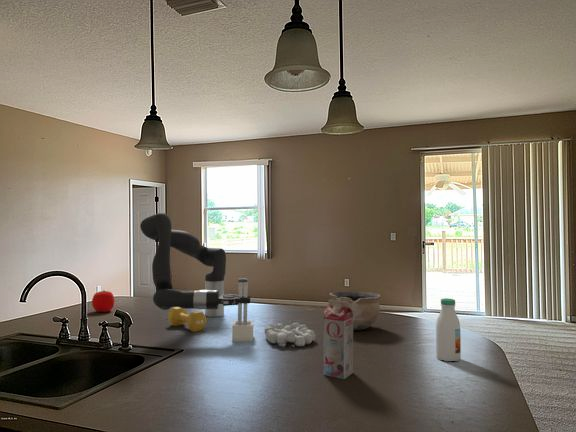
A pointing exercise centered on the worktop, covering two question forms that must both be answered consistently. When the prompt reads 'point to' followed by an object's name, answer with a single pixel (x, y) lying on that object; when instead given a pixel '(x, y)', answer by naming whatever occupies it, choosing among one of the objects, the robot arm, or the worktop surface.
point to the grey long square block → (241, 304)
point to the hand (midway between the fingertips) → (249, 299)
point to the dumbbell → (187, 319)
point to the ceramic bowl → (360, 307)
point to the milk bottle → (448, 332)
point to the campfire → (289, 334)
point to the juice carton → (338, 339)
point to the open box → (242, 331)
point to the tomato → (103, 301)
